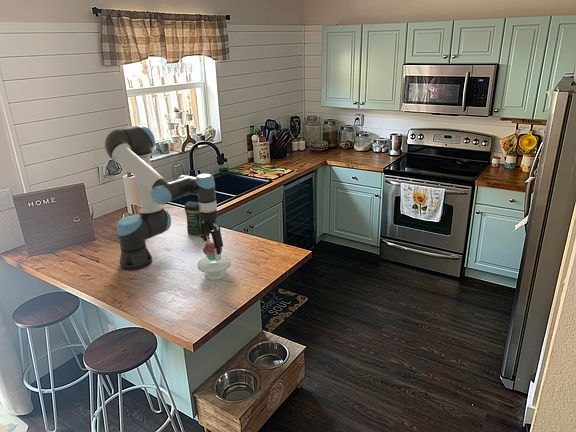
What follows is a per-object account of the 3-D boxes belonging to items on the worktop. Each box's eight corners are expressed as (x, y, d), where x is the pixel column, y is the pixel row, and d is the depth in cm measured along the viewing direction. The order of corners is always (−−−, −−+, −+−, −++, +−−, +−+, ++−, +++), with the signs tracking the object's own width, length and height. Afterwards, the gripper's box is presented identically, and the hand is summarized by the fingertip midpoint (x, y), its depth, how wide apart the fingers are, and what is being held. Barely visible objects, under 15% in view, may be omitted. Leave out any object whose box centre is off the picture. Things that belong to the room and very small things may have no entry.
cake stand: (209, 286, 191) (207, 273, 189) (193, 274, 202) (191, 261, 200) (238, 275, 200) (237, 262, 198) (221, 264, 211) (219, 251, 209)
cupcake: (204, 263, 193) (202, 239, 189) (203, 255, 201) (200, 231, 197) (224, 260, 195) (221, 236, 191) (221, 252, 203) (219, 229, 199)
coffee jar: (185, 234, 246) (181, 203, 239) (193, 229, 253) (189, 199, 246) (200, 236, 242) (196, 205, 236) (207, 231, 249) (204, 200, 242)
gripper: (228, 213, 184) (232, 262, 192) (204, 202, 199) (209, 247, 208) (213, 218, 180) (218, 267, 188) (189, 205, 195) (194, 251, 203)
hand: (213, 256), depth 198 cm, fingers closed on cupcake, 8 cm apart
